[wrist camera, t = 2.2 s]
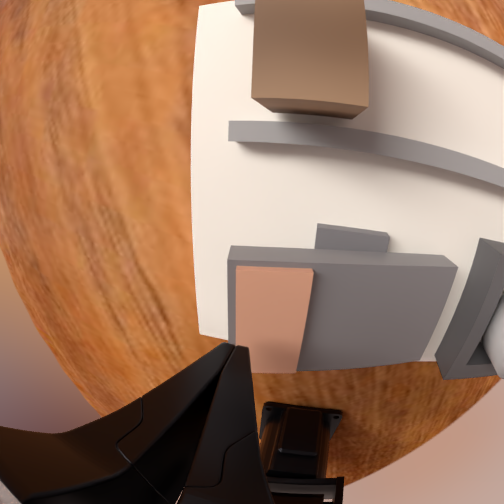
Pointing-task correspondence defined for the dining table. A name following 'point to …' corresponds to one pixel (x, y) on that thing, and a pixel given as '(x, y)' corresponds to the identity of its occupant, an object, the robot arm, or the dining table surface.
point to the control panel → (358, 165)
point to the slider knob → (311, 57)
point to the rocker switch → (333, 306)
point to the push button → (496, 338)
